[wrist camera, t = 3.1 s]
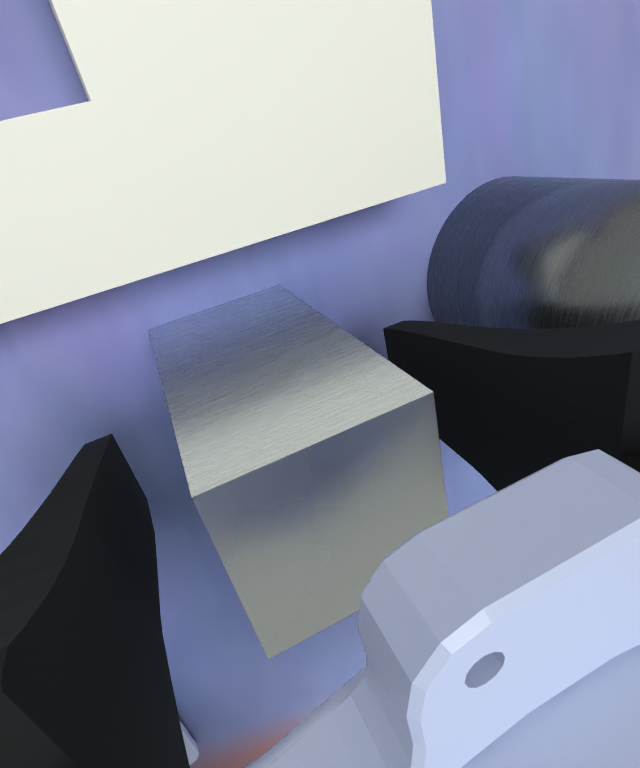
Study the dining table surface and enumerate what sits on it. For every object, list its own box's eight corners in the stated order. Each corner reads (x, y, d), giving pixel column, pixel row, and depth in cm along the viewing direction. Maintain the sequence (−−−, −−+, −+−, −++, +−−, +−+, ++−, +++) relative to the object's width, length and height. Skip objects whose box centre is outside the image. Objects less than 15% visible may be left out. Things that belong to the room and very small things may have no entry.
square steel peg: (309, 395, 16) (452, 559, 10) (197, 442, 15) (267, 659, 9) (279, 284, 14) (433, 391, 8) (148, 329, 13) (191, 497, 7)
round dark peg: (560, 315, 19) (803, 396, 13) (436, 368, 18) (634, 491, 11) (565, 156, 16) (884, 150, 10) (417, 204, 15) (670, 237, 8)
